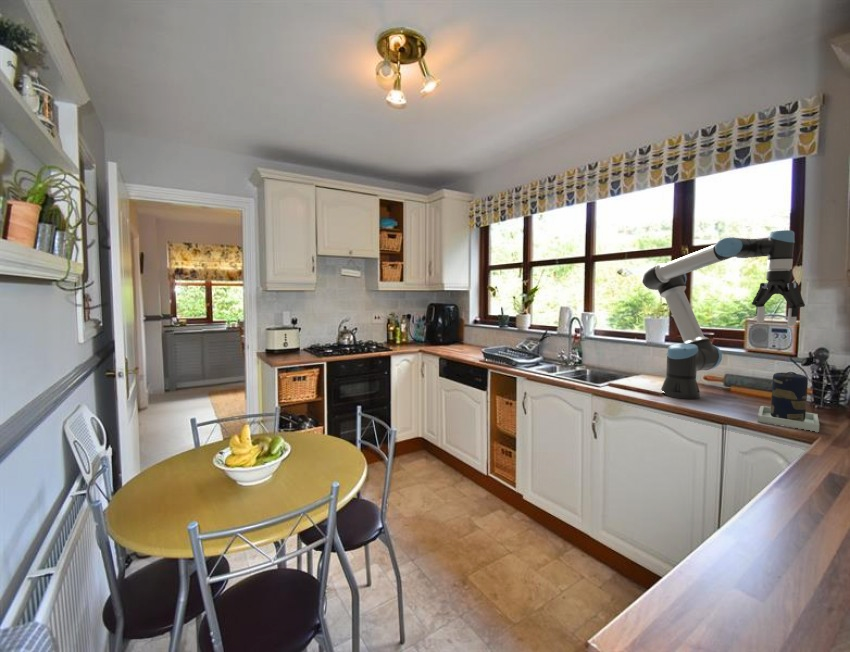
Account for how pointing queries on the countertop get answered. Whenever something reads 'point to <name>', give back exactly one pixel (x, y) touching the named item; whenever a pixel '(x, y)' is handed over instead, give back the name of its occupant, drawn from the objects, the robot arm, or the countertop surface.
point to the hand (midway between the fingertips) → (775, 323)
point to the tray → (808, 424)
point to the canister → (789, 396)
